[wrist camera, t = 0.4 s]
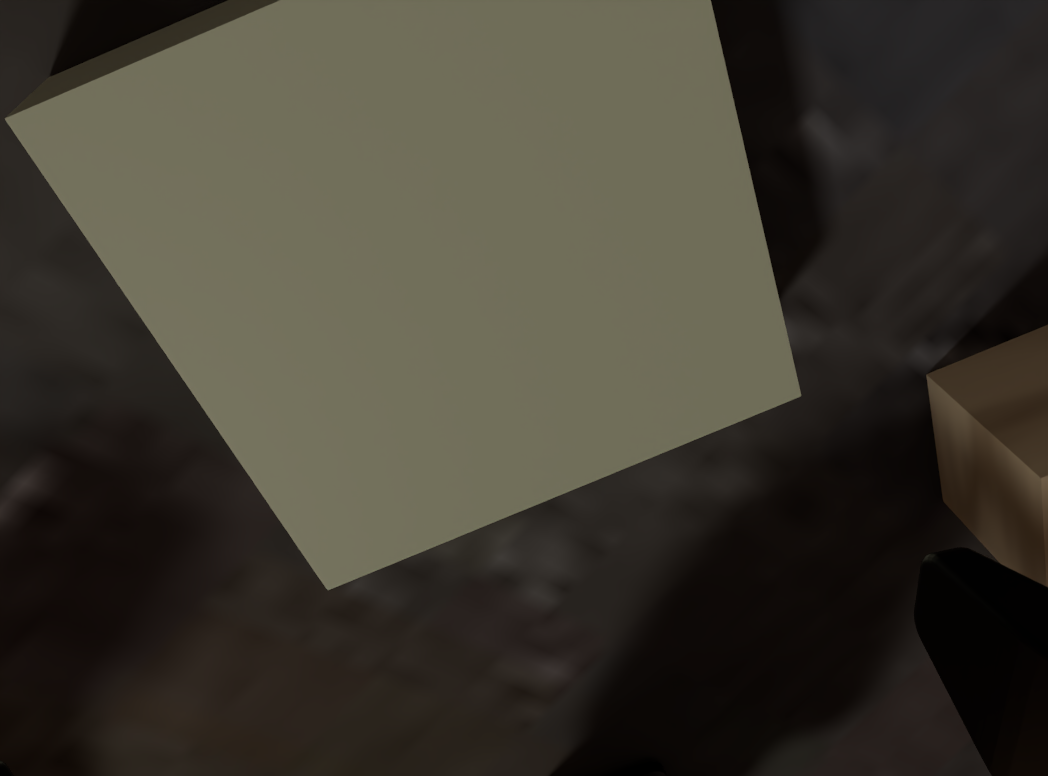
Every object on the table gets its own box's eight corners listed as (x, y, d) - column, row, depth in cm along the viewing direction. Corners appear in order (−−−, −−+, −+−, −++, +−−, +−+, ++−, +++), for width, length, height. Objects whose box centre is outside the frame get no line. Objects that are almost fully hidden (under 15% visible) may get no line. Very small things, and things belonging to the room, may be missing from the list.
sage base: (751, 336, 24) (801, 396, 22) (326, 511, 25) (327, 590, 22) (622, -169, 18) (672, -169, 15) (48, 77, 18) (4, 118, 16)
